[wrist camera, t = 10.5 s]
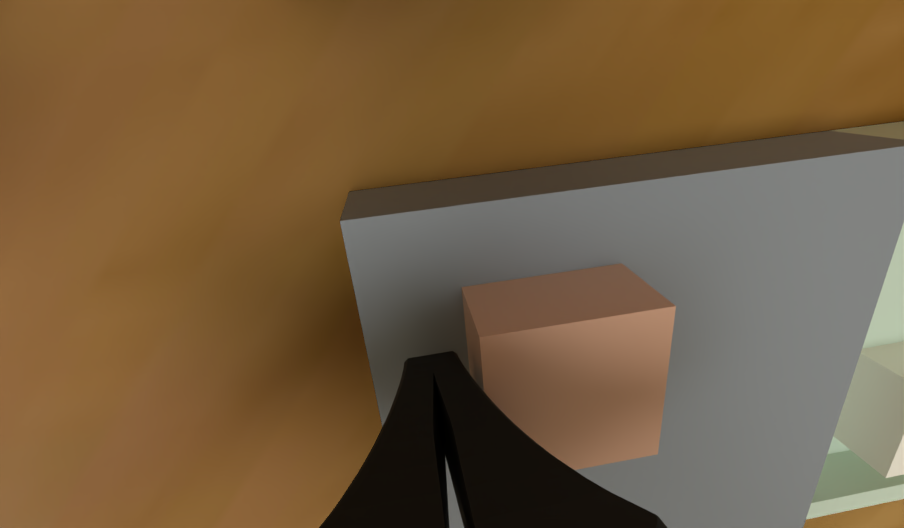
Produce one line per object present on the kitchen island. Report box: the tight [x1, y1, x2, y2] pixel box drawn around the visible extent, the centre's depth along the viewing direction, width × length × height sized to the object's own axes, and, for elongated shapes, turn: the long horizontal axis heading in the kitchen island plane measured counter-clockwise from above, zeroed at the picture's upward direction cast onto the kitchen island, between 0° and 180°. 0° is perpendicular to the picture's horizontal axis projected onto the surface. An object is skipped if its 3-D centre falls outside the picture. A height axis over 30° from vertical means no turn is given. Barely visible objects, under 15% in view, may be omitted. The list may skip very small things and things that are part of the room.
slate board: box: [340, 131, 904, 528], centre depth 16 cm, size 16×16×3 cm
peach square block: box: [461, 263, 676, 470], centre depth 12 cm, size 4×4×2 cm
